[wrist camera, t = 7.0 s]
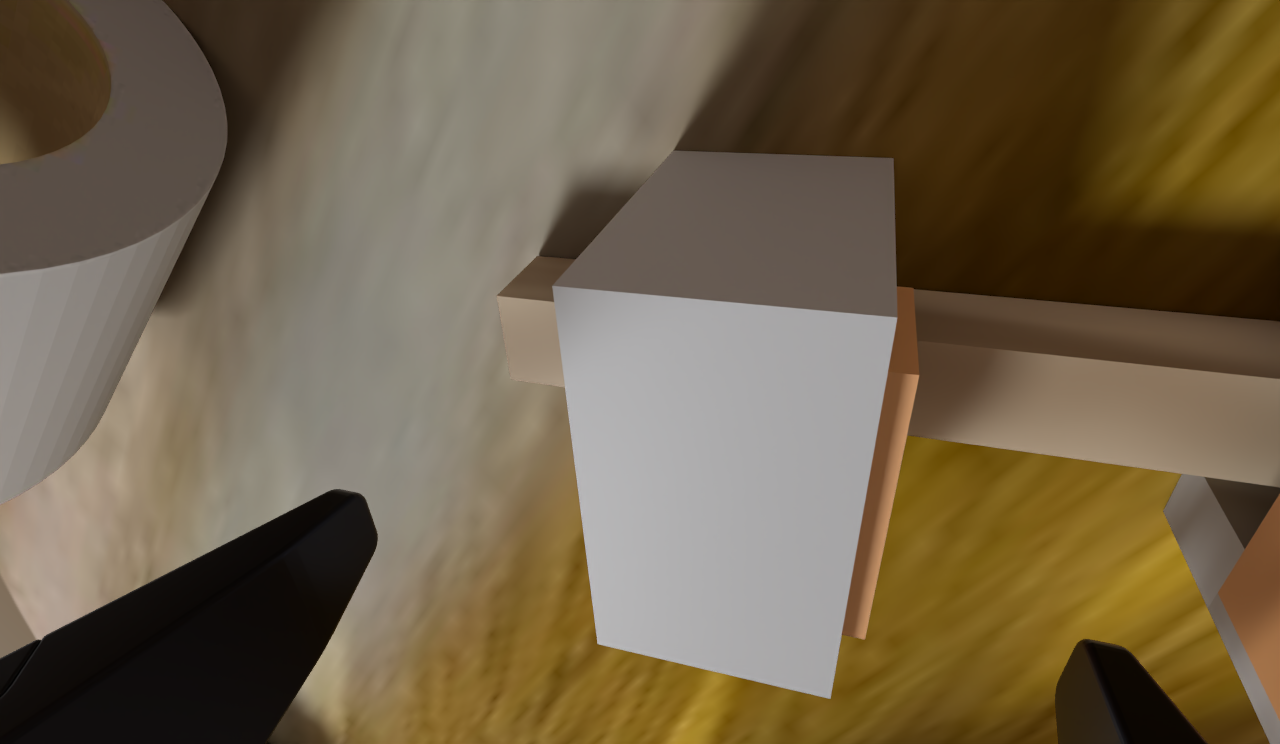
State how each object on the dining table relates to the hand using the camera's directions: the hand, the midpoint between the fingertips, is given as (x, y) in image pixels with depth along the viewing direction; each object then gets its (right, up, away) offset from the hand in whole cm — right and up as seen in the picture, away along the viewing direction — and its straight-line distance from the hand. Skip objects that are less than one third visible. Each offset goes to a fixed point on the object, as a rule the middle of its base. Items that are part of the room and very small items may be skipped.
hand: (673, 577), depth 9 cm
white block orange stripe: (+2, +4, +6) cm, 7 cm away
